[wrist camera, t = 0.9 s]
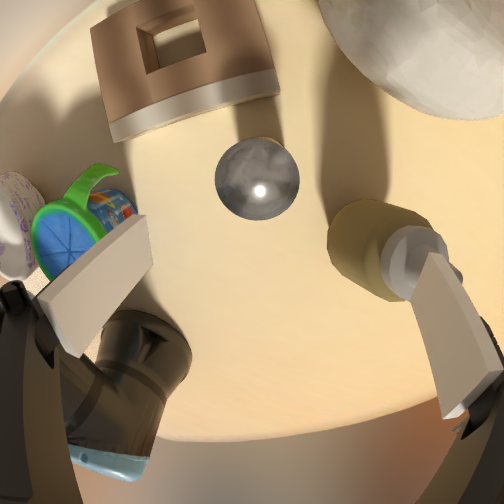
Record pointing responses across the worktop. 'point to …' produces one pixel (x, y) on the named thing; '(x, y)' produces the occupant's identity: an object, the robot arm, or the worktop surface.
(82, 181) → the snack cup
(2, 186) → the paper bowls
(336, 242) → the squeeze bottle
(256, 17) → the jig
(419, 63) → the ceramic pitcher
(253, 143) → the metal capped cylinder
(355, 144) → the worktop surface
